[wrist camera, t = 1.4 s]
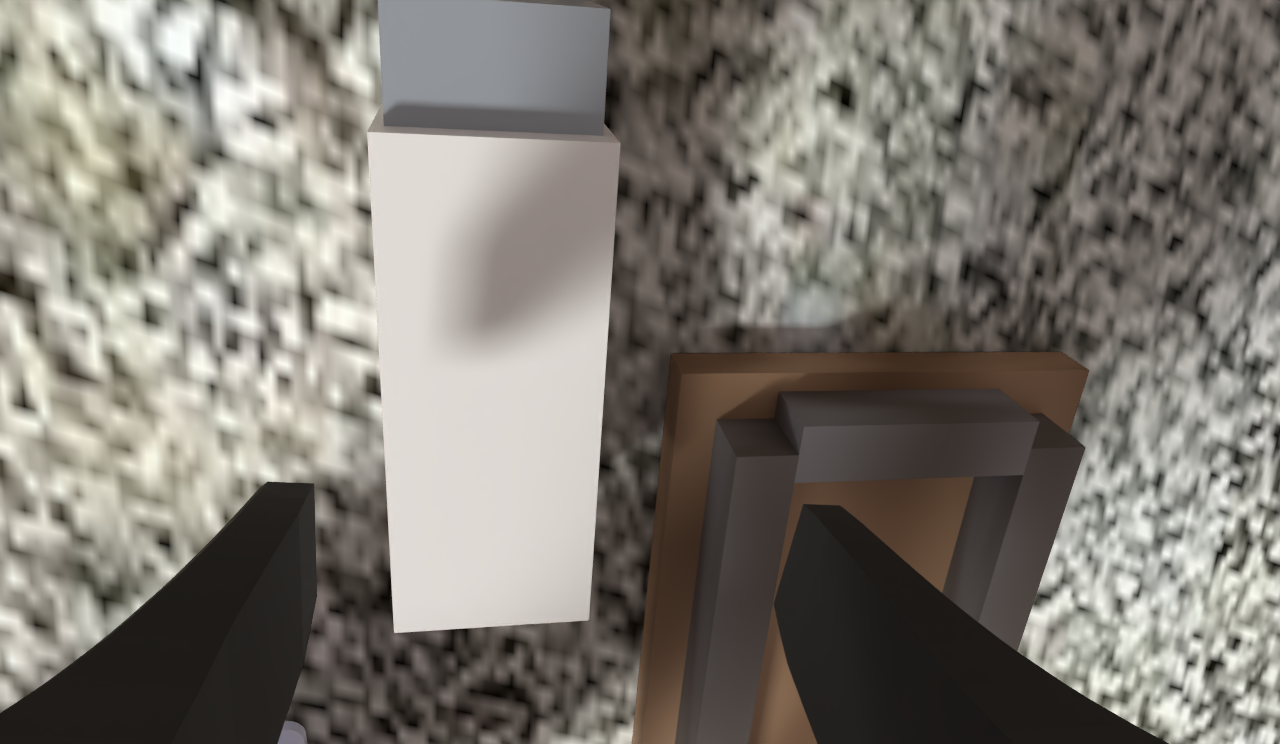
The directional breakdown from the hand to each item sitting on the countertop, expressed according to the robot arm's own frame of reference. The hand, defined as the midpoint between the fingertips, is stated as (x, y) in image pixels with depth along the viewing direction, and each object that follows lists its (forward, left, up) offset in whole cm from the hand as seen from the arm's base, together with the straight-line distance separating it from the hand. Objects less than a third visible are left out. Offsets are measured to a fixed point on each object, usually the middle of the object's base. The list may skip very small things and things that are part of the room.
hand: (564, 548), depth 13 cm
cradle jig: (+9, -10, -9) cm, 16 cm away
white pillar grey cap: (-1, 0, -9) cm, 9 cm away
